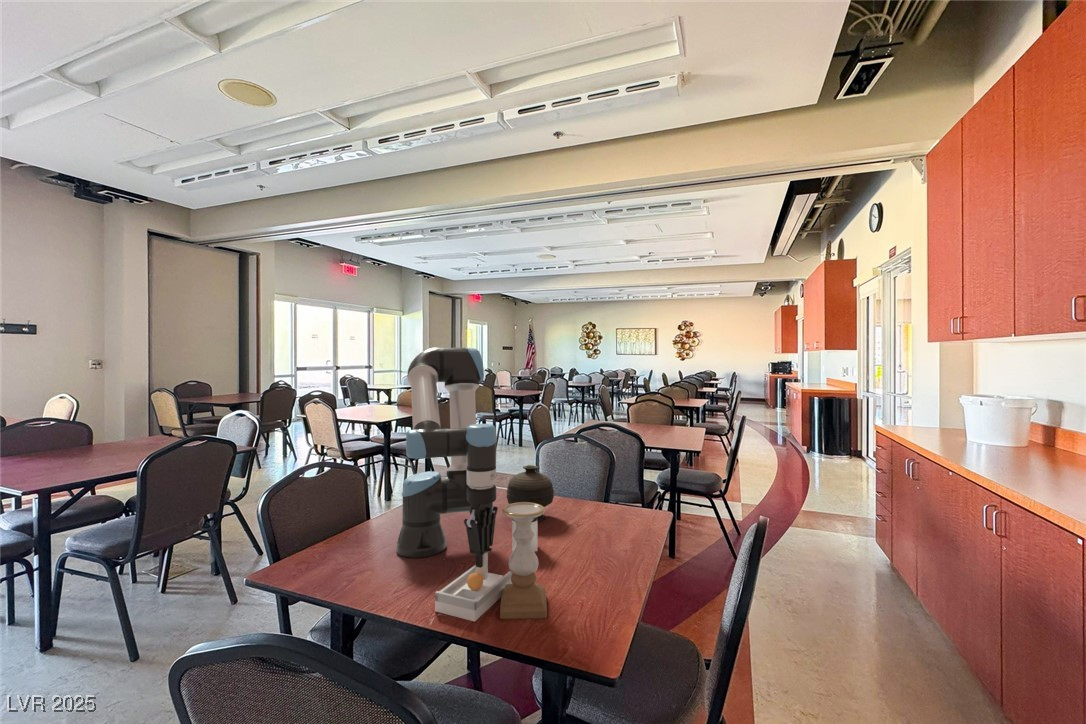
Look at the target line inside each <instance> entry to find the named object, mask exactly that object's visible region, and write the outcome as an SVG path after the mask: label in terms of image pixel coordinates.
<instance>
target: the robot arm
mask: <svg viewBox="0 0 1086 724" xmlns="http://www.w3.org/2000/svg"><path fill="white" fill-rule="evenodd" d="M484 372H485V370H484V363H483V358H482V355H481V353H480V351H479V349H477V348H473V347H431V348H428V349H425V350H423V351H422V352H420V353H419V354H418V355H416V356H415V357H414V359H412V361H411V362H410V364H409V366H408V369H407V374H406V375H407V377H406V379H407V383H408V384H409V386H410V390H411V391H410V392H411V413H412V414H411V416H412V419H411V420H412V429H411V430H407V431H406V433H405V434H406V435H405V447H406V448H405V449H406V450H405V451H406V453H405V454H406V457H407V458H408V459H421V460H424V459H432V458H433V459H435V458H448V457H450V465H449V467H448V468H447V469H446V475H441V474H440V472H439V471H435V470H434V471H429V470H428V471H424V472H419V473H418V472H417V473H414V474H413V475H409V476H408V477H406V478H405V479H404V480H403V482H402V492H401V497H402V513H401V515H402V526H401V529H400V531H399V534H398V539H397V542H396V553H397V554H398V555H399V556H401V557H405V558H414V559H415V558H418V559H419V558H428V557H432V556H435V555H437V554H439V553H442V552H443V551H444V550H445V549H446V547H447V539H446V536H445V533H444V529H443V527H442V524H441V515H444V514H453V513H463V512H465V513H466V512H468V513H469V517H468V518H464V520H463V524H464V525H465V529H466V535H467V542H468V549H469V553H470V554H472V555H475V559H474V561H475V562H474V563H475V564H474V565H476V573H479V574H481V575H482V577H483V580H486V579H487V578H488V573H489V572H488V571H489V570H488V569H489V567H488V566H489V565H488V564H489V561H488V560H489V554H488V553H489V552H492V551H493V548H492V547H493V546H494V545H493V544H494V534H495V527H496V518H497V512H498V509H499V508H498V506H495V505H494V504H493V503H494V502H496V501H497V486H496V484H497V476H498V474H497V439H498V437H497V429H496V426H495V425H493V424H489V423H477V415H476V414H477V413H476V412H477V409H476V408H477V407H476V391H477V389H478V388H479V387H480V383H481V382H483V381H484V378H485V373H484ZM437 383H444V389H445V390H447V392H449V427H450V428H442V427H441V419H440V410H439V408H440V407H439V401H438V392H437Z"/></svg>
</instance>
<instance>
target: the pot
mask: <svg viewBox="0 0 1086 724" xmlns="http://www.w3.org/2000/svg"><path fill="white" fill-rule="evenodd" d="M522 468H523V469H524V470H525V471H522V472H519V473H517V474H515V475H514V476H513V477H511V478H510V480H509V482H508V483H507V488H506V489H507V490H506V500H507V503H508V504H512V503H518V502H531V503H537V504H540V505H542V506H543V507H544V508H545V507H547V506H549V505H551V504H552V503H553V502H554V501H553V500H554V497H555V495H554V493H555V490H554V487H553V483H552V481H551V479H550V478H549V477H548V476H547V475H546V474H544V473H542V472H538V471H537V470H539V466H538V465H532V464H528V465H523V466H522ZM544 519H545V515H544V513H543V514H542V515H541V516H539V517H538V519H537V522H541V521H543V520H544Z"/></svg>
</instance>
